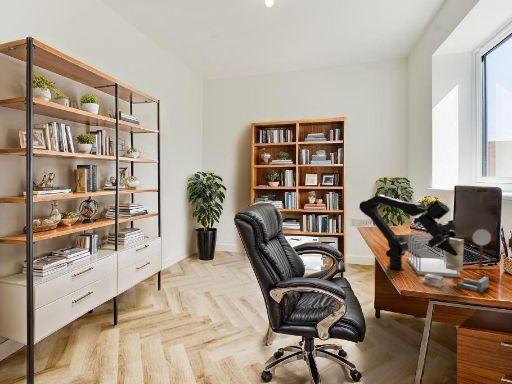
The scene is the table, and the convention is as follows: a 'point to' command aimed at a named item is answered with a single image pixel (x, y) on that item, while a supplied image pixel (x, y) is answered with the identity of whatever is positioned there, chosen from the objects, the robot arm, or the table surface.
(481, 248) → the magnifying glass
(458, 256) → the cream upright block
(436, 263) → the file sorter
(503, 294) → the table surface
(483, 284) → the rack
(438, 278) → the offcut stack
